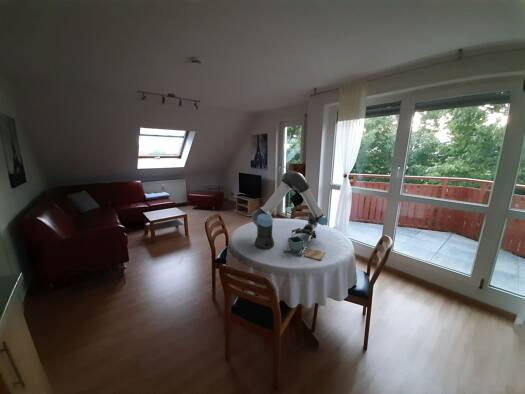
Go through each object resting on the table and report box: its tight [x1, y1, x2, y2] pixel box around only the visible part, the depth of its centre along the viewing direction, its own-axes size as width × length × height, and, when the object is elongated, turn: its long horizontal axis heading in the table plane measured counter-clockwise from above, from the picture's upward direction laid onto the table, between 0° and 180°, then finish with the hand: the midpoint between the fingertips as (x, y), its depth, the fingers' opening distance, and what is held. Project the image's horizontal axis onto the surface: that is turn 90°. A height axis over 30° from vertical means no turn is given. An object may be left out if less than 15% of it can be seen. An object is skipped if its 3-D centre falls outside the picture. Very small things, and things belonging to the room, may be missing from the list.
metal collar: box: [283, 244, 308, 258], centre depth 154 cm, size 13×13×2 cm
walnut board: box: [303, 247, 326, 262], centre depth 149 cm, size 12×12×1 cm
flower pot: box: [287, 235, 305, 253], centre depth 153 cm, size 9×9×9 cm
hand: (300, 237), depth 161 cm, fingers open, 13 cm apart
